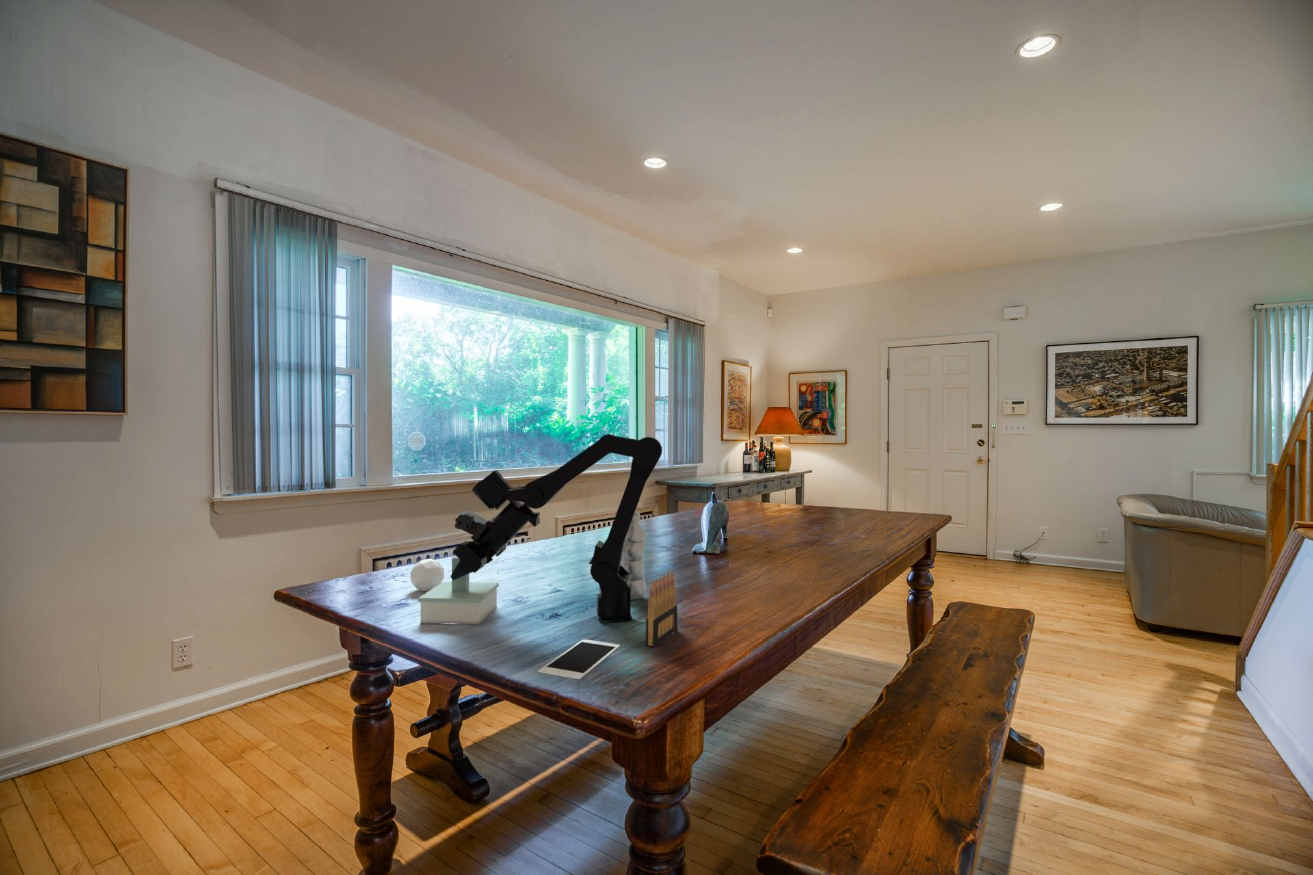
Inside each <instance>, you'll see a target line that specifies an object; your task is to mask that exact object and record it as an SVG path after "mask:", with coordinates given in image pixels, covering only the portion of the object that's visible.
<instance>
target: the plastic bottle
mask: <svg viewBox="0 0 1313 875" xmlns="http://www.w3.org/2000/svg"><path fill="white" fill-rule="evenodd" d="M640 523H641V513H637V512H635V513H634V516H633V519H632V522H631V524H630V527H629V530H628V532H627V535H626V538H625V541H624V548H623V554H622V560H621V566H622V567H624V568H625V569H626V570H627V571H628V572H629V573H630V577H629V581H628V584H627V585H628V586H629V587H630V589H631V601H632V600H640V599H642V598H644V596H645V595H646V592H647V582H646V579H645V569H644V562H645V560H644V558H645V546H646V539H647V535H646V532H645V531H644V529H643V527H642V526H641V524H640Z"/></svg>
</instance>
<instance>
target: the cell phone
mask: <svg viewBox="0 0 1313 875" xmlns="http://www.w3.org/2000/svg"><path fill="white" fill-rule="evenodd" d="M620 647H621V645H620V644H618V643H617V644H616V643H610V642H605V641H598V640H591V639H581V640H580V641H579V642H577V643H575V644H574V645H572V646H571V647H569V649H567V650H566V651H564V652H562V653H561V654H560V655H558V656H557V657H555V658H554V659H553V660H551V661H550V662H549V663H547V664H545V665H544V666H542V667H541V668H540V669H538V670H537V673H538V674H543V675H547V676H554V677H560V678H565V679H571V680H578V681H579V680H581V679H583V678H584V677H585V676H587V675H588V674H589V673H590V672H591V671H593V669H595V668H596V667H598V665H600V664H601V663H602V662H603V661H605V660H606V659H607V658H608V657H609V656H611V655H612V654H613V653H614V652H616V651H617V650H618V649H619V648H620ZM616 649H617V650H616Z"/></svg>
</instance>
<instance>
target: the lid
mask: <svg viewBox="0 0 1313 875" xmlns="http://www.w3.org/2000/svg"><path fill="white" fill-rule="evenodd" d="M459 561H460V559H459V558H458V557H457V556H456V555H455V556H453V557H452V558H451V574H452V573H453V571H454V569H455V568H456V566H457V565H458V563H459ZM499 586H500V584H499V582H472V581H471V582H470V573H469V574H467V575H465V576H462V577H460V578H458V579H455V580H453V579H452V578H451V582H450V581H442V582H441V584H439V585H438V586H436V587H434V588H433V589H431V590H430V591H426V592H425V593H424V594H422V595H421V596H419V597H418V603H421V602H463V603H481V602H482V601H483V600H484V599H485V598H486V597H487V596H488V595H489V594H491V593H492V592H493V591H494V590H495V589H496V588H497V589H498V588H499Z"/></svg>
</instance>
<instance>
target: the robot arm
mask: <svg viewBox="0 0 1313 875" xmlns="http://www.w3.org/2000/svg"><path fill="white" fill-rule="evenodd" d="M610 454H615V455H620V456H624V457H629V458H630V457H631V458H632V461H631V466H630V473H629V478H628V481H627V482H626V487H625V489H624V492H623V494H622V498H621V500H620V502H619V505H618V508H617V511H616V514H615V516H614V519H613V521H612V524H611V527H610V530H609V532H608V534H607V535H608V536H607V538H606V539H605V541H604V542H603V541H601V540H598V541H597V542H596V544H595V545H594V550H593V556H592V557H591V559H590V560H589V562H588V565H591V566H590V569H589V570H590V571H589V572H590V576H591V578H592V579H593V581H594V582H596V583H597V584H598V586H599V593H598V594H596V614H597V617H598V618H599V619H600V622H602V623H609V622H625V621H626V622H629V621H633V616H632V614H631V608H632V606H631V604H632V600H631V589H630V587H629V586H628V585H627V584H628V581H629V577H630V573H629V572H628V571H627V570H626V569H625V568H624V567H622V566H621V560H622V554H623V548H624V541H625V538H626V535H627V532H628V530H629V527H630V524H631V522H632V519H633V516H634V513H636V510H637V508H638V505H639V502H640V499H641V497H642V494H643V491H644V488H645V485H646V483H647V481H648V480H649V477H650V476H651V474H652V473H653V471H654V469H655V468H656V466H657V464H658V462H659V460H660V459H661V458H662V454H663V447H662V444H661V442H660V441H659V440H658V439H657V438H655V437H654V436H653V437H651V436H645V437H642V438H640V439H635V438H630V437H625V436H624V437H623V436H617V435H614V434H611V433H607V434H603V435H602V436H601V437H600V438H599V439H598V440H597V441H595V442H594V443H593V444H591V445H590V446H588V447H586V448H585V449H584V450H582V451H581V452H580V453H578V454H577V455H576V456H574V457H572V458H571V459H570V460H568V461H567V462H566V463H564V464H563V465H561V466H560V467H559V468H557V469H555V470H553V471H552V472H549V473H547V474H544V475H543V476H540V477H538V478H536V479H533V480H532V481H530V482H527V483H526V484H525V485H524V486H520V485H517V486H515V487H513V486H512V485H511V484H510V482H508V481H507V480H506V479H505V478H504V476H503V475H502V474H501V473H500V471H499V470H497V469H495V470H493V471H492V472H491V473H490V474H487V476H485V477H484V478H483V479H482V480H479V481H477V483H476V484H475V485H474V486H473V487H472V489H471V493H472V494H473V495H474V496H475V497H476V498H477V499H478V500H479V501H481V503H482V504H483V505H484V506H485V507H486V508H487V509H488V510H489V511H491V510H494V509H495V510H496V511H498V510H500V509H501V508H503V509H502V510H501V511H500V512H499V513H498V514H497V515H496V516H495V517H493V518H491V520H487V519H486V518H485V517H482V516H480V515H478V514H476V513H473V512H472V511H470V510H464V511H461V512H459V515H458V516H457V517H456V518H455V520H454V521H455V523H454V525H453V527H454V528H456V529H457V530H461V531H463V532H466V533H468V534H470V535H472V536H470V538H471V541H469V540H467V541H466V540H465V541H463V542H461V543H459V544H458V545H457V546H456V547H454V549H453V550H452V551H453V554H454V555H455V556H457V557H458V558H459V559H460V561H459V563H458V565H457V566H456V568H455V569H454V571H453V573H452V572H451V574H450V575H449V576H450V577H449V578H451V580H452V579H453V580H455V579H458V578H460V577H462V576H465V575H467V574H469V575H470V574H472V573H474V574H476V573H477V572H479V571H480V570H481V569H483V568H484V567H485V566H486V565H487V564H488V565H489V563H491V562H492V561H493V560H494V559H493V557H495V556H496V557H497V558H498V557H499V556H501V555H502V554H503V553H504V552H505V551H506V550H507V544H508V543H509V542H510V541H512V540H513V539H514V538H515V536H516V535H517V534H518V533H519V532H520V531H521V530H522V529H523V528H524V527H526V525H527V524H528V523H530V524H531V526H533V527H537V526H538V525H540V524H541V519H540V515H541V512H539V511H537V512H535V511H533V510H532V509H534V510H537V509H540V508H542V507H544V506H546V505H548V504H549V503H550V502H551V501H552V500H554V498H555V497H556V496H557V495H558V494H559V493H560V492H561V491H562V490H563V489H564V488H565V487H566V486H568V484H569V483H570V482H572V481H573V480H574V479H576V478H577V477H578V476H580V475H582V473H584V472H585V471H587V470H588V469H590V468H591V467H593V466H595V464H597V463H598V462H600V461H601V460H602V459H604V458H605V457H607V456H608V455H610ZM522 503H523V504H522ZM506 504H507V505H506ZM505 505H506V506H505ZM504 506H505V507H504Z"/></svg>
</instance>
